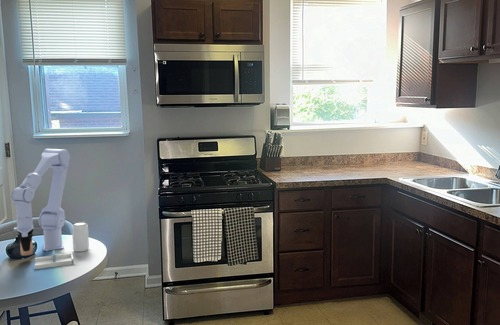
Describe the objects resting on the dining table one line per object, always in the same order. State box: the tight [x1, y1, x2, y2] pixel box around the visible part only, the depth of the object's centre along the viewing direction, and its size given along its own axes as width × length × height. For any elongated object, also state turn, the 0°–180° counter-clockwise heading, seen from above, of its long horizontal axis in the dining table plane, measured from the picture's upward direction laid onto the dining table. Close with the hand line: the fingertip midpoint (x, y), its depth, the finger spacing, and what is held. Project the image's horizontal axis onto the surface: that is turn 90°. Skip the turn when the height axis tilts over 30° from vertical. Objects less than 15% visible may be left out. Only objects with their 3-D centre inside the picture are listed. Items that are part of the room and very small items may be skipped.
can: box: [71, 221, 90, 253], centre depth 191 cm, size 6×6×12 cm
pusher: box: [51, 249, 56, 262], centre depth 176 cm, size 6×1×4 cm, turn 25°
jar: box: [19, 238, 34, 257], centre depth 178 cm, size 4×4×6 cm
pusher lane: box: [34, 251, 74, 270], centre depth 176 cm, size 9×14×2 cm, turn 115°
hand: (26, 248), depth 178 cm, fingers closed on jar, 4 cm apart
